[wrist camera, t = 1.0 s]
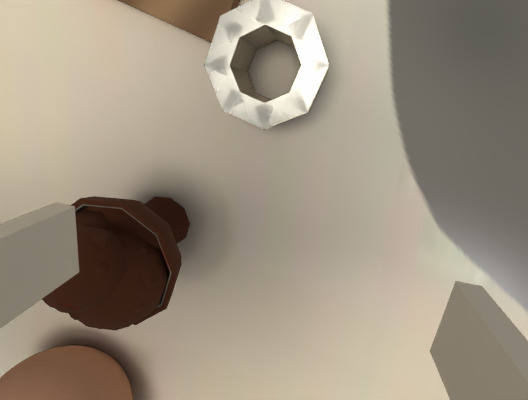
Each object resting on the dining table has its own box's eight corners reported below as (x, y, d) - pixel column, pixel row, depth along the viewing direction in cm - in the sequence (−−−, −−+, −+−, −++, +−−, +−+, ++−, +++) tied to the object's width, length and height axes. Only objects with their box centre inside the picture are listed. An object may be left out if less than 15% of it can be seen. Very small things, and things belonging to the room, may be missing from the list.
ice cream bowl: (97, 206, 35) (-55, 280, 21) (173, 150, 31) (53, 194, 17) (157, 282, 37) (54, 398, 22) (234, 237, 33) (171, 341, 19)
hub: (218, 97, 29) (193, 97, 24) (251, 2, 26) (232, -23, 21) (298, 134, 29) (293, 143, 23) (341, 43, 26) (346, 28, 21)
